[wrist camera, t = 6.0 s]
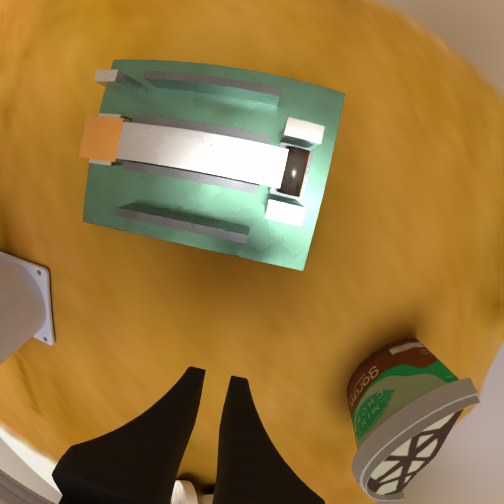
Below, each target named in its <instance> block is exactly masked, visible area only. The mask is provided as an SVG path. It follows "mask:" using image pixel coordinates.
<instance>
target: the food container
mask: <svg viewBox="0 0 504 504" xmlns="http://www.w3.org/2000/svg"><path fill="white" fill-rule="evenodd" d="M477 394H478V393H477V391H476V389H475V387H474V385H473V383H472V381H471V379H470V378H465V379H460V380H459V379H458V378H457V377H456V376H455V375H454V374H453V373H452V372H451V371H450V370H449V369H448V368H447V367H446V366H445V365H444V364H443V363H442V362H440V361H439V360H438V359H437V358H436V357H435V356H434V355H433V354H432V353H431V352H430V351H429V350H428V349H427V348H426V347H425V346H424V345H422V344H421V343H420V342H419V341H418V340H417V339H404V340H401V341H397V342H394V343H391V344H388V345H386V346H385V347H383V348H381V349H379V350H378V351H376V352H374V353H373V354H371V355H370V356H369V357H368V358H367V359H366V360H365V361H364V362H362V363H361V364H360V365H359V367H358V368H357V369H356V371H355V372H354V374H353V375H352V377H351V379H350V381H349V384H348V388H347V397H348V403H349V407H350V412H351V417H352V422H353V428H354V433H355V438H356V444H357V449H358V451H357V453H356V455H355V457H354V459H353V463H352V472H353V474H354V476H355V478H356V480H357V482H358V483H359V485H360V487H361V489H362V490H363V491H364V492H366V493H367V494H368V495H369V496H370V497H371V498H373V499H375V500H380V501H395V500H401V499H404V494H403V490H402V489H403V488H404V487H406V485H407V484H408V482H409V481H410V480H411V479H412V478H413V477H414V476H415V475H416V473H417V472H419V471H420V470H421V469H422V468H423V467H424V466H426V465H427V464H428V463H429V462H430V461H431V460H432V459H433V458H434V457H435V456H436V454H437V453H438V451H439V449H440V448H441V446H442V444H443V442H444V441H445V439H446V437H447V435H448V434H449V432H450V430H451V428H452V427H453V425H454V423H455V422H456V420H457V419H458V417H459V416H460V414H461V412H462V411H463V409H464V408H467V407H469V406H472V405H476V404H479V403H480V401H479V399H478V398H477V397H476V395H477Z"/></svg>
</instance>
